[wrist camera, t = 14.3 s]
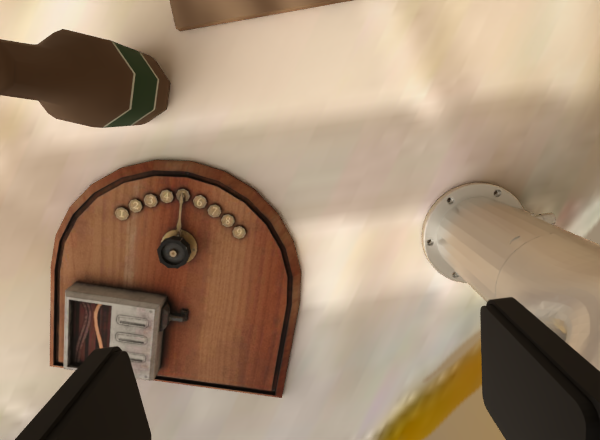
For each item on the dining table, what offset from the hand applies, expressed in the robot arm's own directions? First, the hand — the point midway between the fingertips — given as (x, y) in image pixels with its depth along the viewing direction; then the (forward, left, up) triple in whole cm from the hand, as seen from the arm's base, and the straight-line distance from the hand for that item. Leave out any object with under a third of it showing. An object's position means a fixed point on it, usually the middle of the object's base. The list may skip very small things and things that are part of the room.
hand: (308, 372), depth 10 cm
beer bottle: (+16, -12, -38) cm, 43 cm away
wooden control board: (+17, +11, -39) cm, 44 cm away
